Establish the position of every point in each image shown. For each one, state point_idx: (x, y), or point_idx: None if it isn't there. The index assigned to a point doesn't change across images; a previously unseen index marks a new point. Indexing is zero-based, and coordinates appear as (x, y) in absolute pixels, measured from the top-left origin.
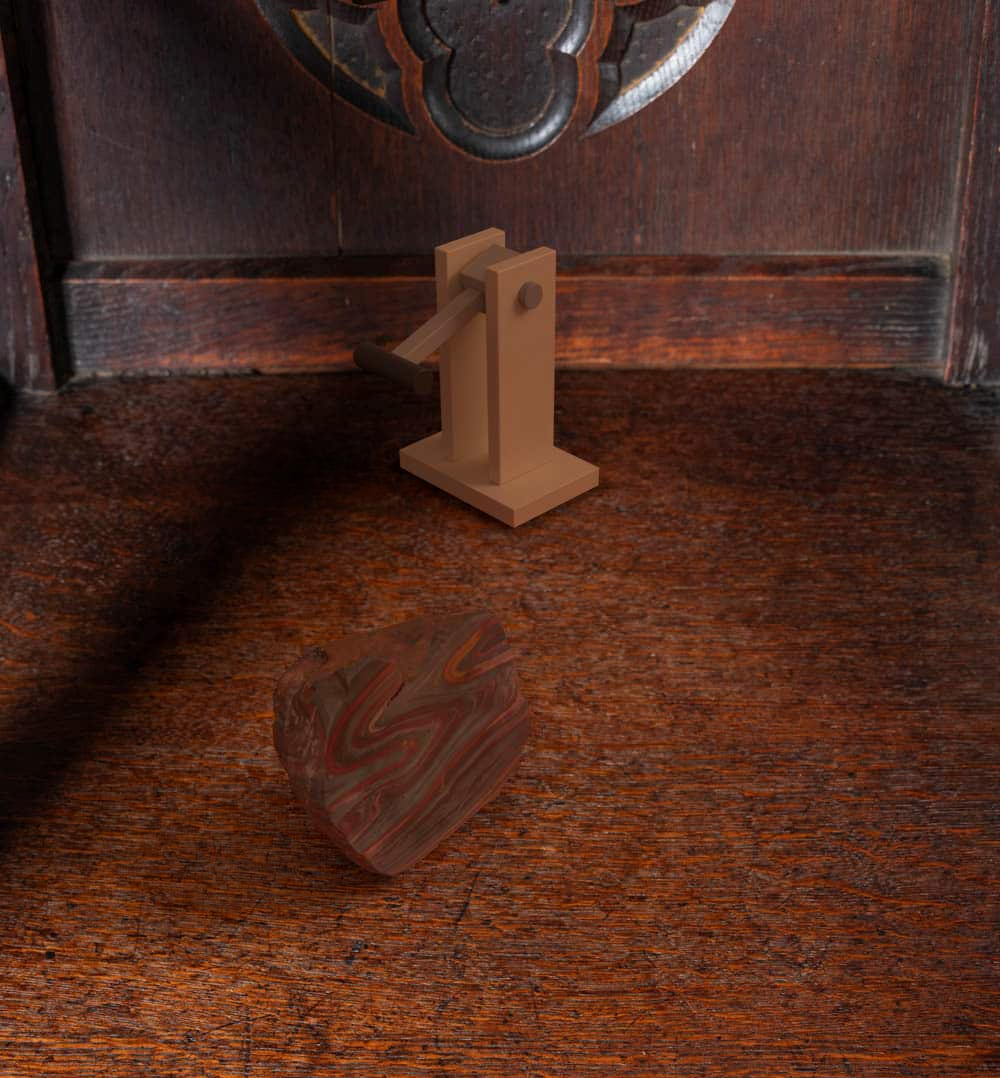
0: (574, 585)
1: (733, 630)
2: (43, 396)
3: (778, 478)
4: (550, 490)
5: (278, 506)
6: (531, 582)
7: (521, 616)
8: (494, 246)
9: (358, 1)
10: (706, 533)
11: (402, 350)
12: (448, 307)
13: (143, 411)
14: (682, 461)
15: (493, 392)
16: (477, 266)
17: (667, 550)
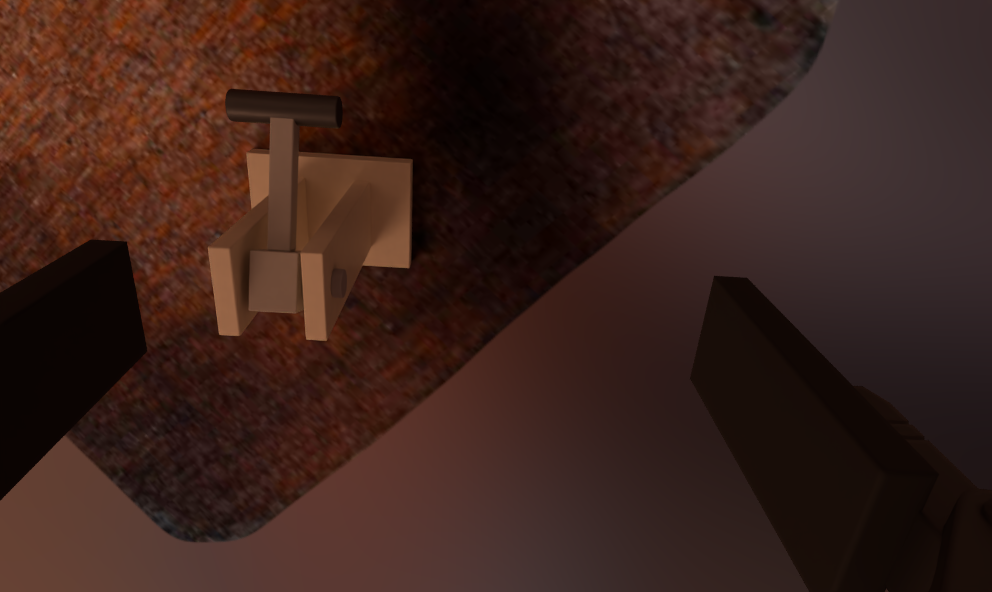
0: (142, 113)
1: (8, 150)
2: (831, 4)
3: (176, 354)
4: (252, 201)
5: (440, 22)
6: (169, 90)
7: (129, 41)
8: (289, 307)
9: (99, 242)
10: (142, 252)
11: (280, 127)
12: (285, 211)
13: (707, 60)
14: (248, 328)
15: (266, 202)
16: (282, 270)
17: (140, 210)
